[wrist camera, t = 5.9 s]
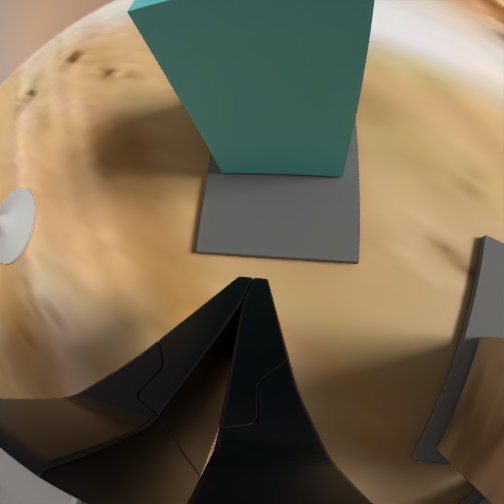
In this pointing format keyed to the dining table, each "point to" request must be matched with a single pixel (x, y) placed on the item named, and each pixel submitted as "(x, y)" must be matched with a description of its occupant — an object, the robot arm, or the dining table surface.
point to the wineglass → (16, 224)
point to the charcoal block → (485, 501)
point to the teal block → (264, 77)
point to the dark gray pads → (339, 255)
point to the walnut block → (480, 423)
